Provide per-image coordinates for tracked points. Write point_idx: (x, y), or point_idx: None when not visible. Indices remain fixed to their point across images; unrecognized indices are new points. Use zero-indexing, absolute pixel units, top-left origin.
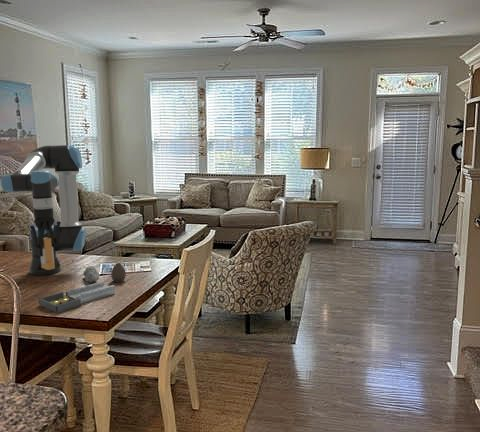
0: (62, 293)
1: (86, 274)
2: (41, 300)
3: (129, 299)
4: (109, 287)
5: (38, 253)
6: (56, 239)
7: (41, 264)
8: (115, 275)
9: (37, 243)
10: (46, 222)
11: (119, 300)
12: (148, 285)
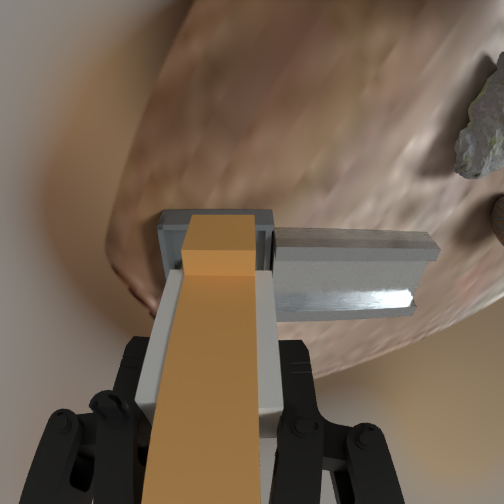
0: (268, 228)
1: (492, 107)
2: (160, 243)
3: (373, 350)
4: (393, 316)
5: (122, 360)
6: (337, 501)
7: (187, 232)
8: (500, 235)
9: (90, 482)
10: None
11: (357, 342)
12: (477, 303)
